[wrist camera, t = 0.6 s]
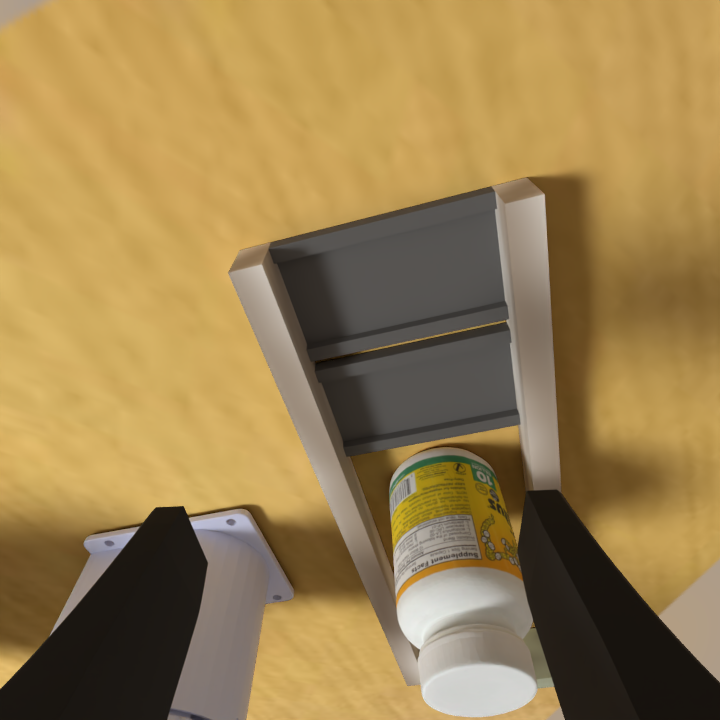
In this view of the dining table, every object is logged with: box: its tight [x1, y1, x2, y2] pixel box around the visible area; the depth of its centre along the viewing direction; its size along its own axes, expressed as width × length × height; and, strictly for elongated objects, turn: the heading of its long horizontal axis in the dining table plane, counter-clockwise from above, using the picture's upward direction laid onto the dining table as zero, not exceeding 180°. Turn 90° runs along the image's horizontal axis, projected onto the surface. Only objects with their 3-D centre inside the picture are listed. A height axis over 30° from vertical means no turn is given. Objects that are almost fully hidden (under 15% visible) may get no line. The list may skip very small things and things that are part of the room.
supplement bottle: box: [389, 447, 537, 717], centre depth 21 cm, size 5×5×10 cm
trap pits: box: [268, 187, 521, 457], centre depth 21 cm, size 8×10×1 cm
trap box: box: [228, 178, 561, 688], centre depth 25 cm, size 10×30×3 cm, turn 14°
